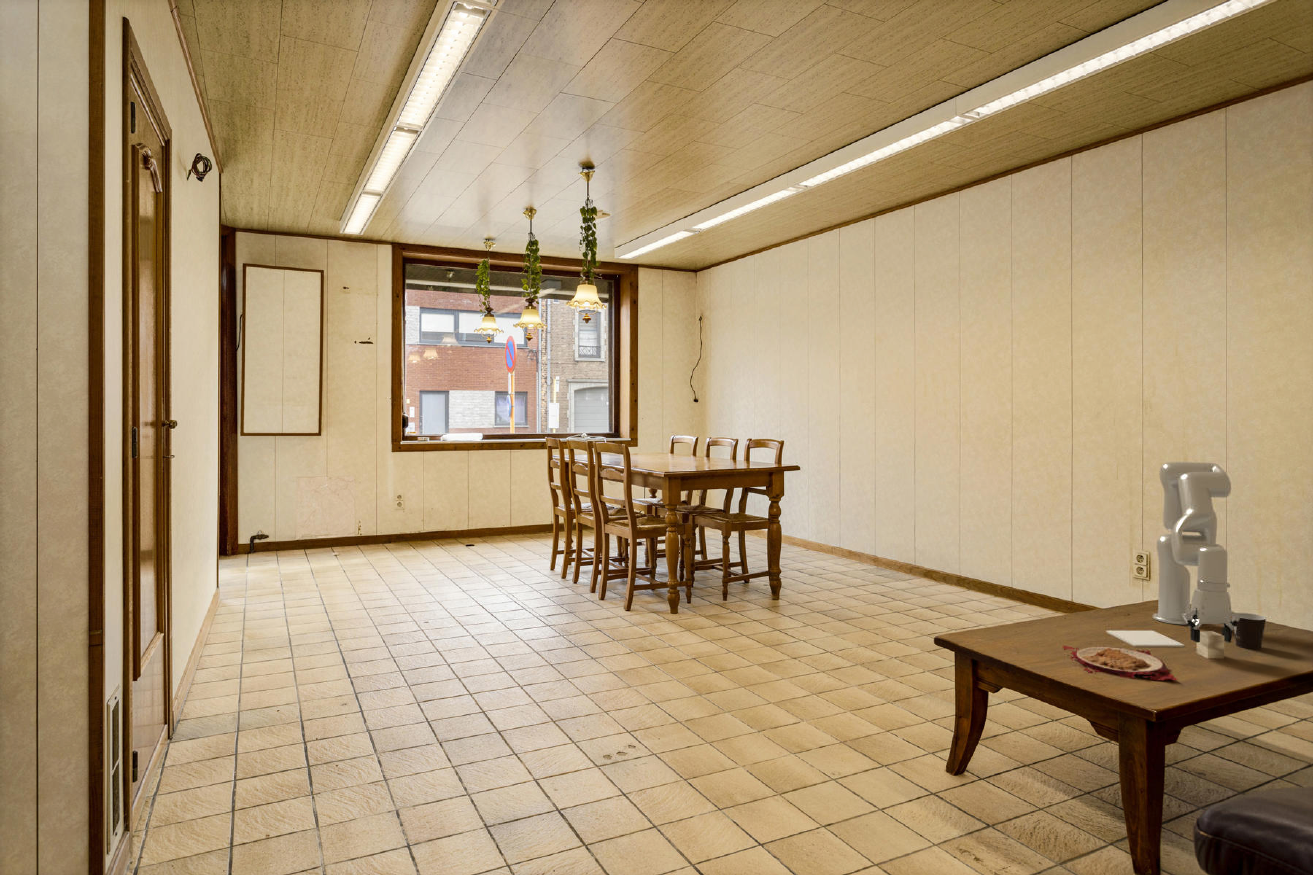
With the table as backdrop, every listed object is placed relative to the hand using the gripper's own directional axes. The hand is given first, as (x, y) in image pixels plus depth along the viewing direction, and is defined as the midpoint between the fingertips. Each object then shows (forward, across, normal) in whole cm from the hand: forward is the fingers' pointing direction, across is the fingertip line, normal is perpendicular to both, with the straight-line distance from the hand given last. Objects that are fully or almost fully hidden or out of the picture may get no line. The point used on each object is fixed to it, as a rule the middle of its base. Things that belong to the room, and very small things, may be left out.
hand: (1210, 641), depth 240 cm
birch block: (+5, 0, -1) cm, 5 cm away
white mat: (+4, +10, -18) cm, 21 cm away
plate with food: (+6, +34, +7) cm, 35 cm away
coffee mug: (+4, -20, -11) cm, 23 cm away
